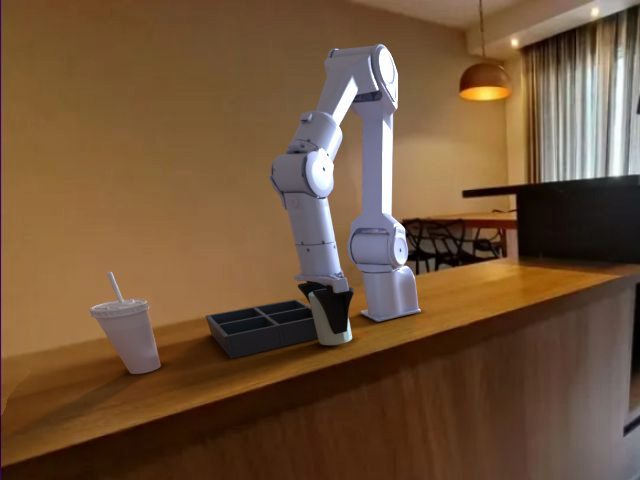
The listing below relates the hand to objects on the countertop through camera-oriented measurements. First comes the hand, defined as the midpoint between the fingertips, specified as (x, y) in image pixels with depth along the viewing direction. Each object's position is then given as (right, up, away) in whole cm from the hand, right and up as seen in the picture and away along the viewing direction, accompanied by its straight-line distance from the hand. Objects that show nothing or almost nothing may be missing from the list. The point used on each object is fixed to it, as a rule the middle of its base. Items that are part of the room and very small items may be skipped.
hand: (333, 328), depth 72 cm
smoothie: (-25, -7, -8) cm, 27 cm away
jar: (0, -2, +1) cm, 2 cm away
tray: (-13, -1, +5) cm, 14 cm away
